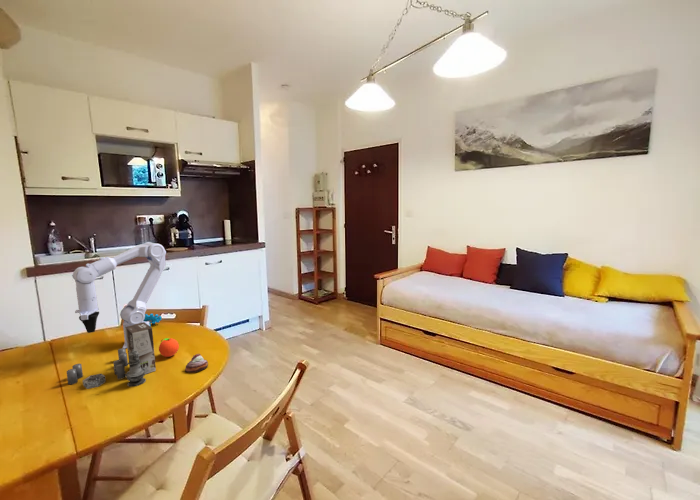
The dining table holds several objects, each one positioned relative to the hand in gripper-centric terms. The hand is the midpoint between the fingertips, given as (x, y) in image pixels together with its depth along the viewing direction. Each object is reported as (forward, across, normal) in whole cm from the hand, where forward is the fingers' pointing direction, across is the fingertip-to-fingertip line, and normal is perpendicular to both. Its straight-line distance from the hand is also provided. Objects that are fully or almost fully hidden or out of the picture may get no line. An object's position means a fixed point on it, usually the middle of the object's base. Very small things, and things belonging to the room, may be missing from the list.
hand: (91, 331), depth 127 cm
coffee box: (+10, +21, +18) cm, 29 cm away
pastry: (+10, +29, +36) cm, 47 cm away
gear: (+10, -25, +17) cm, 32 cm away
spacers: (+10, +17, +5) cm, 20 cm away
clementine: (+10, +13, +26) cm, 31 cm away
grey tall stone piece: (+10, +30, +17) cm, 36 cm away
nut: (+10, +25, +5) cm, 27 cm away
